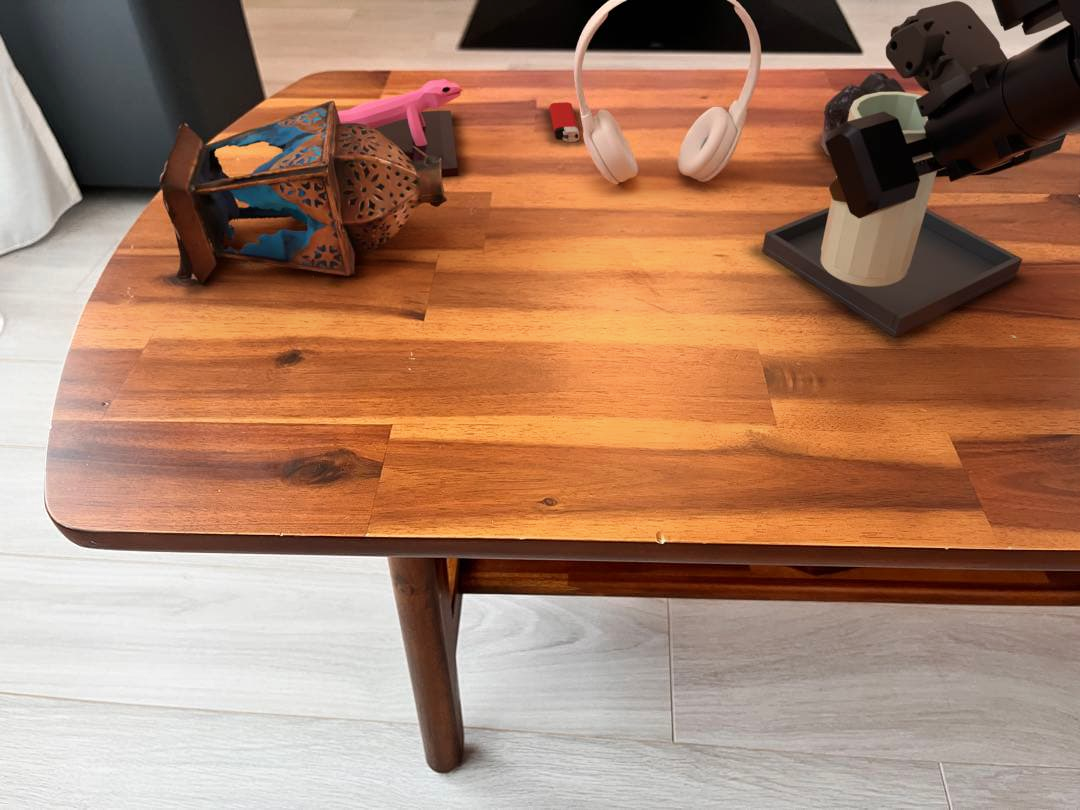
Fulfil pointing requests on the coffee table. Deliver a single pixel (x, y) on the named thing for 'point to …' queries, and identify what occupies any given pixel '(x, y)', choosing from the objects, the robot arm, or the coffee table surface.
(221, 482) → the coffee table surface
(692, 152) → the headphones
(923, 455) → the coffee table surface
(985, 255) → the tray
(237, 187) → the lantern
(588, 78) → the coffee table surface
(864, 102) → the tumbler
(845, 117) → the crystal cluster
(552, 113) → the lighter
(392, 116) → the lizard figurine
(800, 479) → the coffee table surface
